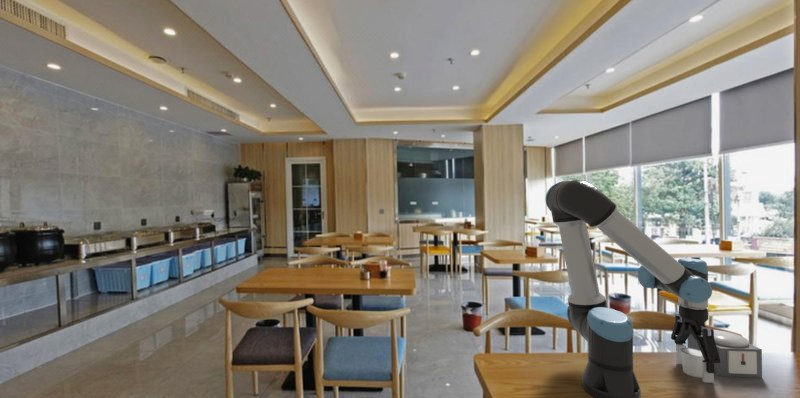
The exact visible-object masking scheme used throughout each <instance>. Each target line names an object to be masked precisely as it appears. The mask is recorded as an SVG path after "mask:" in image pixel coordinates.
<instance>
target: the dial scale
mask: <svg viewBox="0 0 800 398" xmlns="http://www.w3.org/2000/svg"><path fill="white" fill-rule="evenodd" d="M713 331H714V339H715V343H716V347H717V350H718V354H719V358H720V362H721V363H714V374H717V375H718V376H720V377H731V378H733V377H735V378H758V379H759V378H760V377H761V378H763V353H762V352H763V351H762V348H759V347H758V346H755V345H753V344H751V343H750V341H749V339H748V338H746V337H744V336H742V335H739V334H736V333H732V332H730V331H725V330H720V329H713ZM701 336H702V335H701ZM687 348H692V349H697V350H700V348H699V345H698V343H697V341H696V339H694V337H693V335H691V334H690V335H689V337H688V338H687ZM700 351H701V350H700Z"/></svg>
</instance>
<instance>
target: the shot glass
mask: <svg viewBox="0 0 800 398" xmlns="http://www.w3.org/2000/svg"><path fill="white" fill-rule="evenodd" d="M681 358H682V364H681V365H682V372H683V373H685V374H686V375H688V376H690V377H694V378H702V361H703V360H704V358H703V355H702V353H701V351H700V350H697V349H692V348H688V347H686V348H681Z"/></svg>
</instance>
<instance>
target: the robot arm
mask: <svg viewBox="0 0 800 398" xmlns="http://www.w3.org/2000/svg"><path fill="white" fill-rule="evenodd" d="M544 198H545V205H546V207H547V209H548V210H549V211H550V212H551V217H552V221H553V224H555V225H556V226H557V227H558V229H559V234H560V240H561V245H562V246H561V247H562V249H563V250H562V251H563V256H564V257H563V258H564V262H565V267H566V270H567V271H566V272H567V278H568V281H569V287H570V293H571V294H570V295H569V296H568V298H567V302H568V305H567V309H566V316H567V317H566V318H567V320H568V323H569V324H570V326H571V327H572V328H573V329H574V330H575V331H576V332H577V333H578V334H579V335H580V336H581V337H582V338H583V339H584V340H585V341H586V342H587V352H588V353H587V354H588V355H587V357H588V358H587V363H586V366H585V369H584V372H583V374H582V378H581V381H582V382H581V383H582V387H584V388H583V389H584V391H585V392H587V394H589V395H591V397H594V398H642V396H641V395H642V391H641V388H640V384H639V381H638V379H637V377H636V374H635V371H634V327H633V322H632V319H631V318H630V317H629V316H628V315H627V314H625V313H624V312H622V311H619V310H615V309H614V308H611V307H610V308H609V307H608V302H607V298H606V296H605V295H603V294H602V293H601V292H600V288H599V283H598V279H597V277H598V276H597V273H596V268H595V263H594V257H593V252H592V246H591V242H590V237H589V230H588V226H589V227H591V228H597V229H598V230H600V231H601V232H602V233H603V234H604V235H605V236H606V237H608V238H609V239H610V240H611V241H612V242H613V243H615V244H616V246H618V247H619V248H621V249H622V250H623V251H624V252H625V253H626V254H628V255H629V256H630V257H631V258H632V259H634V260H635V261H636V262H637V263H638V264H639V265H640V267H639V268H638V270H637V280H638V283H639V284H640V286H642V287H643V288H645V289H658V290H662V291H664V292H667V293H669V294H672V295H674V296H676V297H678V298H677V299H678V301H677V303H678V304H679V305H678V314H675V316H674V317H675V318H674V319H675V322H674V326H673V327H672V331H671V332H672V333H671V336H670V339H671V340H672V341H674V344H675V353H676V354H675V355H676V357H675V358H676V364H677V365H682V358H681V348H687V345H686V344H687V343H686V341H688V337H689V335H690V334H691V335H693V337H694V339H696V341H697V343H698V345H699V348H700V350H701V353H702V355H703V358H704V360H703V361H702V377H701V378H702V379H701V380H702V382H703V383H706V384H707V383H708V384H710V383H711V384H714V383H715V381H714V380H715V379H714V375H715V372H714V363H721V362H720V358H719V354H718V350H717V347H716V343H715V339H714V331H713V330H714V329H713V328H708V327H706V322H707V321H709V309H708V308H709V299H710V298H711V296H712V295H713V287H712V285H711V283H710V282H709V270H708V264H707V262H706V261H705V260H704V259H697V258H690V257H689V258H688V257H682V258H679V259H678V260H676V258H675V257H673V256H672V255H670V254H669V253H668V252H667V251H666V250H665V249H663V248H662V247H661V246H660V245H659V244H658V243H657V242H655V241H654V240H653V239H652V238H651V237H649V236H648V235H647V234H646V233H645V232H643V231H642V230H641V229H640V228H639V227H638V226H637V225H635V224H634V223H633V222H632V221H631V220H629V219H628V218H627V217H626V215H624V214H622V213H621V212H620V211H619V210H618V205H617V204H616V203H615V202H614V201H613V200H612V199H610V198H609V197H608V196H607V195H605V194H604V192H602V191H601V190H600V189H598V188H597V187H596V186H595V185H593V184H592V183H589V182H588V181H585V180H581V179H574V180H564V181H559V182H557V183H554V184H553V185H552V186H550V188H549V189H548V190H547V191H546V194H545V197H544ZM701 335H702V336H701Z"/></svg>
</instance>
